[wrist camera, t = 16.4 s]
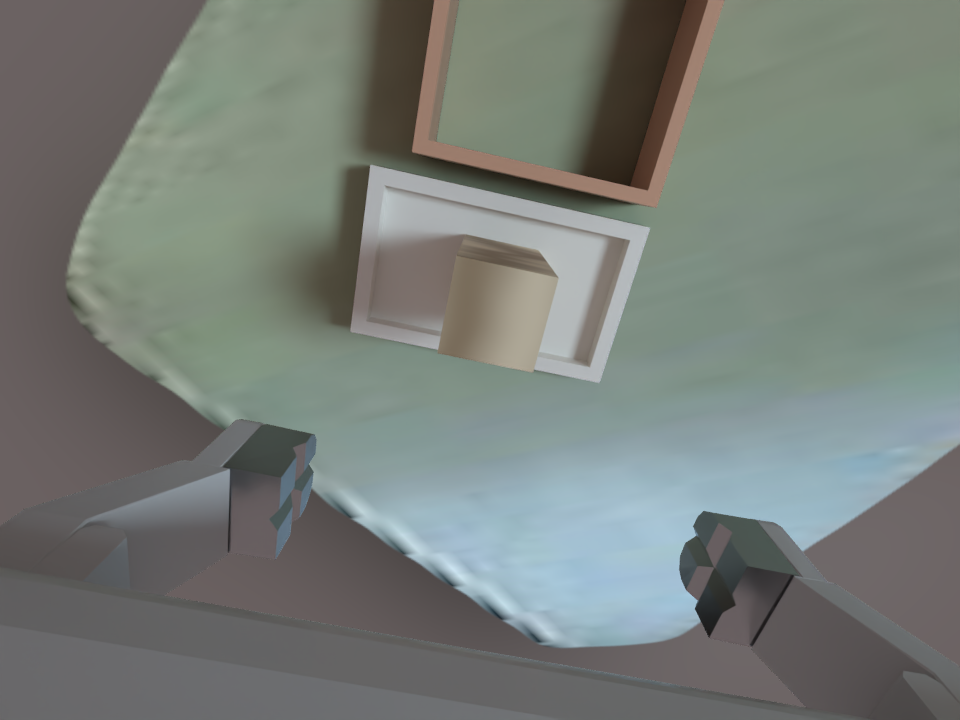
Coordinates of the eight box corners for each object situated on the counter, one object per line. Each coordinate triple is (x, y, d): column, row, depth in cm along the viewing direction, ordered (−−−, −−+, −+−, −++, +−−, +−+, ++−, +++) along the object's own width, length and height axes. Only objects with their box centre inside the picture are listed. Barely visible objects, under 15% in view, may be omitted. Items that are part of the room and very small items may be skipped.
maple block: (538, 250, 32) (558, 277, 23) (520, 320, 34) (533, 372, 24) (465, 234, 32) (456, 255, 22) (451, 305, 34) (437, 353, 24)
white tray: (640, 225, 32) (650, 227, 30) (593, 372, 36) (599, 382, 34) (377, 165, 31) (370, 164, 29) (357, 323, 35) (350, 331, 33)
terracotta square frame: (720, -63, 27) (758, -103, 23) (636, 204, 32) (656, 207, 28) (465, -131, 26) (461, -184, 22) (421, 155, 31) (411, 151, 27)
